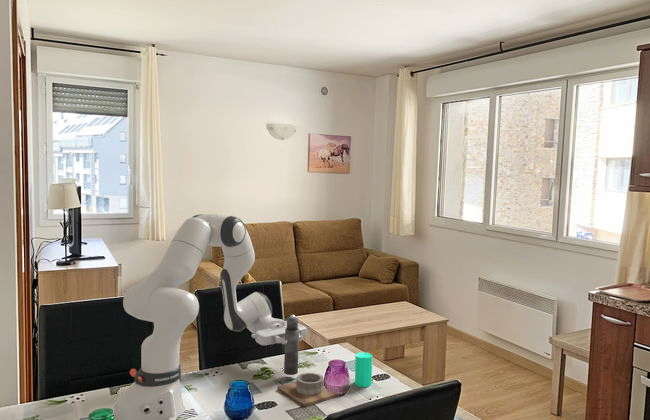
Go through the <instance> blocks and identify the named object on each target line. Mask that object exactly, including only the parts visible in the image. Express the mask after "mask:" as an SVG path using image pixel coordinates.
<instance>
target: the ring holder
mask: <svg viewBox="0 0 650 420" xmlns="http://www.w3.org/2000/svg"><path fill="white" fill-rule="evenodd" d="M324 382H325V379H324V376H323V375H321V374H320V373H315V372H303V373H300V374H299V375H297V376H296V381H293V382H290V383H287V384H283V385H279V386H277V387H276V390H277V391H279V392H280V393H281V394H283V395H285V396H286V397H288V398H289V399H291V401H294V402H295V403H297V404H298V405H300V406H302V407H303V408H306V407H310V406H312V405H316V404H318V403H322V402H325V401H329V400H331V399H334V398H337V397H340V396H339V395H340V393H333V392H329V391H328V390H327V389H326V388H325V386H324Z"/></svg>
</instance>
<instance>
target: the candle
mask: <svg viewBox="0 0 650 420" xmlns="http://www.w3.org/2000/svg"><path fill="white" fill-rule="evenodd" d="M354 360H355V362H354V363H355V365H354V385H356V386H357V387H360V388H361V387H362V388H367V387H370V386H372V384H373V383H372V379H373V378H372V377H373V355H372V354H371V353H370V352H357V353H355V359H354Z"/></svg>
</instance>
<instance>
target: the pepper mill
mask: <svg viewBox="0 0 650 420" xmlns="http://www.w3.org/2000/svg"><path fill="white" fill-rule="evenodd" d="M286 319H287V328H286V329H285V338H286V339H287V340H288V341H287V344H284V358H283V359H284V361H283V364H284V365H283V373H284V374H285V375H287V376H294V375H297V374H298V373H299V371H298V370H299V345H300V341H299V328H298V323H299V317H297V316H296V315H294V314H290V316H287V318H286Z"/></svg>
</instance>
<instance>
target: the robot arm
mask: <svg viewBox="0 0 650 420" xmlns="http://www.w3.org/2000/svg"><path fill="white" fill-rule="evenodd" d="M208 246H210V247H216V248H217V247H218V248H219V247H220V248H221V250H222V253H223V258H224V261H223V267H222V269H221V271H220V275H219V276H220V279H219V281H220V288H221V289H220V290H221V296H222V297H221V298H222V304H223V321H224V323H225V325H226V328H227V329H228V330H230V331H233V332H237V333H238V332H242V331H243V330H244V329H247V330H249V332H251V336H250V337H251V338H252V339H255V342H256V343H257V344H259V345H260V346H269V345H274V344H281V345H285V344H287V341H288V340H287V339H286V338H285V329H286V328H287V318H286V319H285V318H284V319H280V318H274V317H272V315H273V306H272V302H271V300H270V299H269V298H268V296H267V295H266V294H264V293H262V292H260V291H254V292H253V293H250V294H249V295H248V296H246V297H245V298H243V299H241V300H239V301H238V300H237V291H236V290H237V286H238V283H240V281H241V279H242V278H243V277H244V276H245V275H246V274H247V272H249V271H250V270H251V269H252V267H253V265H254V263H255V260H256V255H255V249H254V245H253V243H252V239H251V237H250V234H249V232H248V230H247V227H246V225H245V223H244V222H243V220H242V219H241V218H240V217H236V216H233V215H230V216H229V215H223V214H218V213H217V214H215V213H211V214H210V213H208V214H202V213H199V214H196V215H193V216H192V217H189V218H187V219H185V220H184V222H183V223H182V224H181V225H180V226H179V228H178V229H177V231H176V232H175V235H174V236H173V238H172V240H171V241H170V243H169V246H168V248H167V249H166V251H165V253H164V256H163V257H162V259H161V261H160V262H159V263H158V265H157V266H156V267H155V268H154V270H152V271H151V273H150V274H149V275H147V276H146V277H145V278H144V279H142V280H141V281H140V282H138V283H137V284H134V285H132V286H131V287H129V288H128V289H127V290H126V292H125V293H124V297H123V300H122V306H123V308H124V309H123V310H124V311H125V312H126V313H127V314H128V315H130V316H132V317H134V318H135V319H138V320H140V321H141V320H142V321H146V322H150V323H151V322H152V323H153V326H154V327H153V331H152V334H150V335H149V336H147V337H146V338H145V339H144V340H143V342H142V344H141V347H140V348H141V350H140V351H141V352H140V353H141V355H140V356H141V357H140V358H141V367H140V368H139V369H138V370H137V369H136V368H131V369H130V370H129V374H130V376H131V377H133V378H134V382H132V384H130V385H129V386H128V387H127V388H125V390H123V391H122V392H120V393H119V395H118V396H117V397H116V399H115V402H114V407H113V410H112V411H113V415H114V417H115V420H177V418H179V417H180V416H181V415H182V414H184V411H185V405H184V402H183V396H182V390H181V380H182V368H181V366H182V365H181V363H180V353H181V352H180V350H181V349H180V347H181V342H182V341H181V340H182V336H183V334H184V331H185V330H186V329H187V327H188V326H189V325H191V324H192V323H193V322H194V321H196V318H197V317H198V314H199V310H200V303H199V301H198V297H197V295H196V294H193V293H191V292H189V291H187V290H184V289H182V288H179V287H180V286H181V285H182V284H185V283H186V282H188V281H190V280H192V278H194V277H195V275H196V272H197V270H198V268H199V266H200V264H201V262H202V259H203V258H204V255H205V253H206V251H207V248H208ZM298 328H299V342H301V341H303V339H304V338H307V336H308V329H307V327H306V326H305V325H303V324H300V323H299V322H298Z"/></svg>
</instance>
